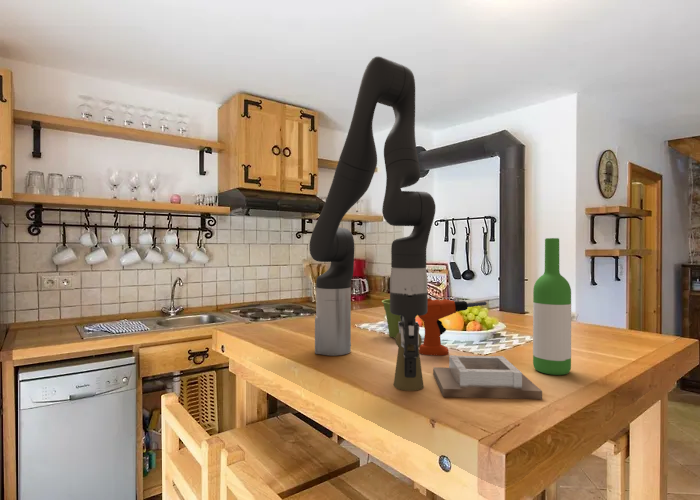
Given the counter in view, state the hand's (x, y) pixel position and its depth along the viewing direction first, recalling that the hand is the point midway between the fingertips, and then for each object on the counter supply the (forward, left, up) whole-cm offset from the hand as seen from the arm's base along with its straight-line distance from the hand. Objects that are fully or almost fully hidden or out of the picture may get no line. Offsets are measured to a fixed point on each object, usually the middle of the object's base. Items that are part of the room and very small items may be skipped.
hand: (408, 370), depth 84 cm
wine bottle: (+33, +12, -3) cm, 35 cm away
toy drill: (+13, +26, -3) cm, 29 cm away
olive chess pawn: (0, 0, -3) cm, 3 cm away
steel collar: (+15, +1, -2) cm, 15 cm away
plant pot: (+1, +46, -3) cm, 46 cm away
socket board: (+15, +1, -3) cm, 15 cm away
